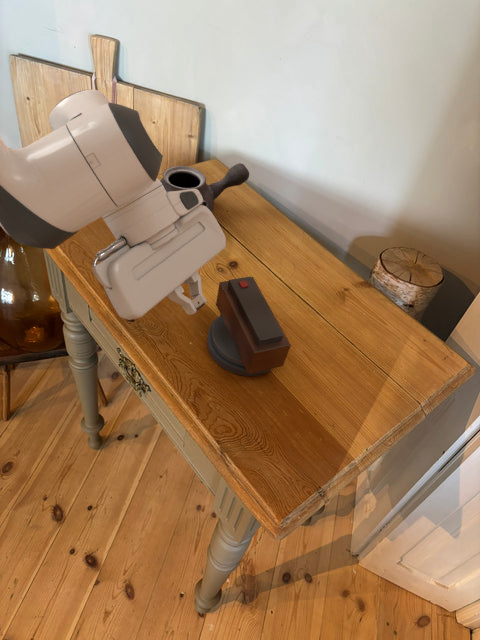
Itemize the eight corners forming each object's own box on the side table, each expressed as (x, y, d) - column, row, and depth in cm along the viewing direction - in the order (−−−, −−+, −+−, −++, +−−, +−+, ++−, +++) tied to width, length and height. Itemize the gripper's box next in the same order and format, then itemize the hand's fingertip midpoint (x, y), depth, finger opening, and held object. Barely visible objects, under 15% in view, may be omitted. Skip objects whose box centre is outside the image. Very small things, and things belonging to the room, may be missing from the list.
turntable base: (191, 348, 70) (192, 342, 69) (234, 305, 78) (236, 299, 77) (257, 390, 67) (259, 384, 66) (295, 341, 74) (298, 335, 73)
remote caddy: (297, 366, 69) (310, 334, 63) (229, 382, 65) (237, 350, 60) (261, 300, 77) (270, 267, 72) (199, 311, 73) (203, 277, 68)
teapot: (170, 244, 86) (173, 198, 78) (142, 197, 94) (142, 151, 87) (257, 226, 93) (267, 183, 86) (224, 185, 102) (230, 142, 94)
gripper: (98, 254, 52) (163, 352, 56) (205, 184, 64) (251, 269, 69) (73, 265, 56) (135, 355, 61) (178, 198, 69) (223, 277, 73)
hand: (197, 309), depth 65 cm, fingers closed
